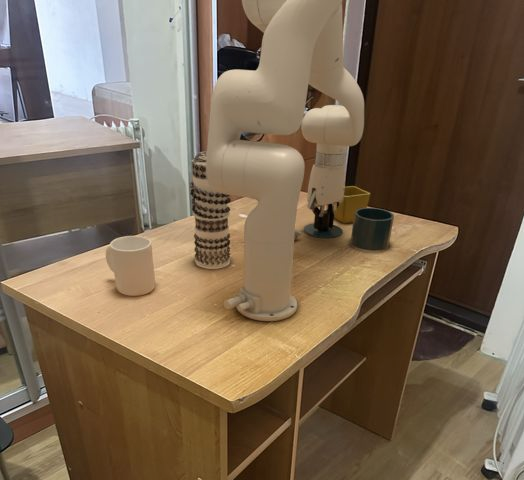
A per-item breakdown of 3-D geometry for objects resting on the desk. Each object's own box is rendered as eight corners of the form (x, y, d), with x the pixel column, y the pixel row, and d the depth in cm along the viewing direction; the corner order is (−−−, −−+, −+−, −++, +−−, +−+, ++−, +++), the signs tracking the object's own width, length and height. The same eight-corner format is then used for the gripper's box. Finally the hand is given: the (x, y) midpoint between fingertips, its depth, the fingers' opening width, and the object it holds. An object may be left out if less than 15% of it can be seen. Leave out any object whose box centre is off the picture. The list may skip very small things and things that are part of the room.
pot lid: (322, 243, 131) (325, 221, 128) (295, 231, 138) (297, 210, 134) (350, 235, 137) (352, 213, 134) (322, 223, 144) (324, 203, 140)
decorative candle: (222, 251, 124) (221, 147, 110) (237, 265, 118) (238, 156, 104) (188, 257, 121) (182, 150, 107) (202, 272, 114) (197, 160, 100)
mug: (96, 285, 107) (88, 240, 101) (124, 272, 113) (118, 229, 107) (136, 300, 102) (130, 254, 96) (163, 286, 108) (159, 241, 102)
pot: (371, 255, 125) (377, 223, 121) (342, 243, 132) (346, 212, 127) (395, 246, 131) (402, 215, 126) (367, 235, 137) (371, 205, 132)
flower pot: (325, 218, 148) (329, 188, 143) (350, 214, 151) (354, 185, 146) (341, 227, 141) (345, 196, 136) (366, 224, 145) (371, 193, 140)
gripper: (341, 152, 133) (333, 218, 143) (297, 160, 124) (292, 230, 134) (362, 158, 128) (353, 226, 139) (318, 166, 119) (311, 238, 130)
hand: (323, 227), depth 136 cm, fingers closed on pot lid, 3 cm apart
